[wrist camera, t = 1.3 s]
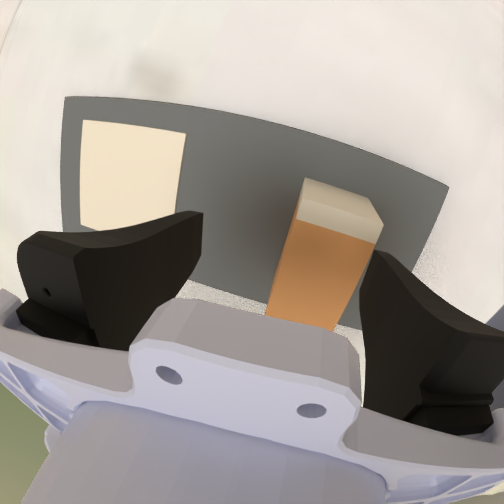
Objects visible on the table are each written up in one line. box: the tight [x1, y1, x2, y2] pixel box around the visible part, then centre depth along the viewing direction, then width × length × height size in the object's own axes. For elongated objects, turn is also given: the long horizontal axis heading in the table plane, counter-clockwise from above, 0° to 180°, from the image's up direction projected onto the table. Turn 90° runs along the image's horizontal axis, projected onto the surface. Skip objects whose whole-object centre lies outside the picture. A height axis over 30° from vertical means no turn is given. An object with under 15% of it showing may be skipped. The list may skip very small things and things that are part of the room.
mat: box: [60, 97, 449, 330], centre depth 22 cm, size 14×32×1 cm, turn 76°
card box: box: [265, 177, 384, 332], centre depth 19 cm, size 8×5×5 cm, turn 166°
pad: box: [80, 120, 187, 231], centre depth 22 cm, size 10×10×1 cm
